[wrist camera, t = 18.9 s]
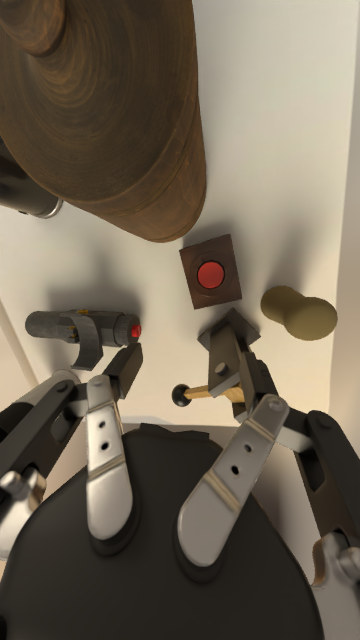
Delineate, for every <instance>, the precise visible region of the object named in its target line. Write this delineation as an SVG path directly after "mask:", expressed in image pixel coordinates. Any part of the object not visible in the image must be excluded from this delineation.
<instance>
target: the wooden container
mask: <svg viewBox="0 0 360 640" xmlns="http://www.w3.org/2000/svg"><path fill="white" fill-rule="evenodd" d="M0 135H1V137H2V139H3V141H4V143H5V144H6V146H7V148H8V149H9V151H10V152H11V154H12V155H13V157H14V158H15V160H16V161H17V163H18V164H19V165H20V166H21V167H22V169H23V170H24V171H25V172H26V173H27V174H28V175H29V176H30V177H31V178H32V179H33V180H34V181H35V182H36V183H38V184H39V185H40V186H41V187H43V188H44V189H46V190H47V191H49V192H50V193H52V194H53V195H55V196H57V197H59V198H60V199H62V200H64V201H66V202H68V203H69V204H72V205H74V206H76V207H78V208H80V209H82V210H85V211H87V212H90V213H92V214H94V215H96V216H98V217H100V218H102V219H104V220H106V221H108V222H110V223H112V224H113V225H115V226H117V227H119V228H121V229H123V230H125V231H127V232H129V233H132V234H134V235H136V236H139V237H141V238H143V239H146V240H148V241H152V242H158V243H164V242H169V241H173V240H176V239H178V238H180V237H181V236H183V235H184V234H186V233H187V232H188V231H189V230H190V229H191V228H192V227H193V225H194V224H195V223H196V221H197V219H198V218H199V216H200V214H201V211H202V209H203V206H204V202H205V197H206V163H205V151H204V142H203V133H202V124H201V115H200V106H199V96H198V60H197V46H196V34H195V23H194V14H193V5H192V0H0Z"/></svg>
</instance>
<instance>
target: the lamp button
mask: <svg viewBox="0 0 360 640" xmlns="http://www.w3.org/2000/svg"><path fill="white" fill-rule="evenodd" d="M223 276H224V273H223V269H222V267H221V266H220V265H219V264H217V263H215V262H208V263H206V264H204V265H203V266H202V267H201V268H200V270H199V272H198V279H199V282H200V283H201V285H203V286H204V287H206V288H214V287H217V286H218V285H219V284H220V283H221V282H222V280H223Z"/></svg>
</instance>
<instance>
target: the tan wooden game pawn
mask: <svg viewBox="0 0 360 640" xmlns="http://www.w3.org/2000/svg"><path fill="white" fill-rule="evenodd" d="M261 311H262V312H263V314H264V315H265V316H266V317H267V318H269V319H271V320H273V321H276V322H278V323H280V324H282V325H284V326H285V328H286V330H287V331H288V332H289V333H290V334H291V335H293V336H294V337H295V338H298V339H301V340H306V341H313V340H318V339H321V338H323V337H326V336H327V335H329V334H330V333H331V332H332V331H333V330H334V328H335V327H336V324H337V312H336V310H335V308H334V307H333V306H332V305H331V304H330V303H328V302H327V301H326V300H323V299H320V298H316V297H305V296H303V295H302V294H300V293H298V292H297V291H295V290H294V289H292V288H290V287H287V286H277V287H274V288H272V289H270V290H269V291H267V292H266V293H265V294H264V296H263V298H262V300H261Z"/></svg>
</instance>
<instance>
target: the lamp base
mask: <svg viewBox="0 0 360 640" xmlns="http://www.w3.org/2000/svg"><path fill="white" fill-rule="evenodd" d="M179 252H180V256H181V260H182V264H183V268H184V272H185V276H186V279H187V283H188V287H189V291H190V295H191V299H192V303H193V306H194V310H195V309H200V308H204V307H208V306H213V305H217V304H222V303H226V302H230V301H235V300H239V299H242V295H241V289H240V284H239V278H238V273H237V267H236V262H235V257H234V251H233V246H232V240H231V235H230V234H227V235H224V236H221V237H218V238H214V239H211V240H208V241H205V242H202V243H199V244H196V245H193V246H190V247H187V248H184V249H181V250H179ZM208 262H215V263H217V264H219V265H220V266H221V267H222V269H223V273H224V276H223V280H222V282H221V283H220V284H219V285H218V286H217V287H214V288H206V287H204V286H203V285H201V283H200V282H199V279H198V272H199V270H200V268H201V267H202V266H203V265H204V264H206V263H208Z"/></svg>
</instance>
